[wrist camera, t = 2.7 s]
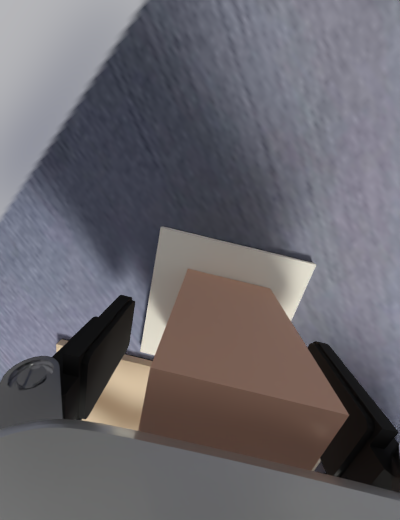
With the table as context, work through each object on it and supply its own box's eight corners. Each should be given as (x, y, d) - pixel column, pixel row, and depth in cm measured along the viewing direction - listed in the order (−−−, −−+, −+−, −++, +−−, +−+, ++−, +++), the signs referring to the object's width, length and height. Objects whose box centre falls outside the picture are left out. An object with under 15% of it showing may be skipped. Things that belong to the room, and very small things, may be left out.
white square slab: (162, 226, 11) (160, 227, 11) (312, 262, 11) (317, 265, 11) (142, 347, 14) (139, 352, 14) (262, 376, 14) (264, 382, 14)
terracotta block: (187, 268, 11) (149, 367, 5) (270, 288, 11) (349, 415, 5) (172, 336, 13) (127, 483, 6) (245, 354, 13) (278, 519, 6)
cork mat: (61, 339, 14) (56, 343, 14) (179, 367, 14) (178, 373, 14) (61, 420, 17) (57, 426, 17) (160, 443, 17) (158, 450, 17)
